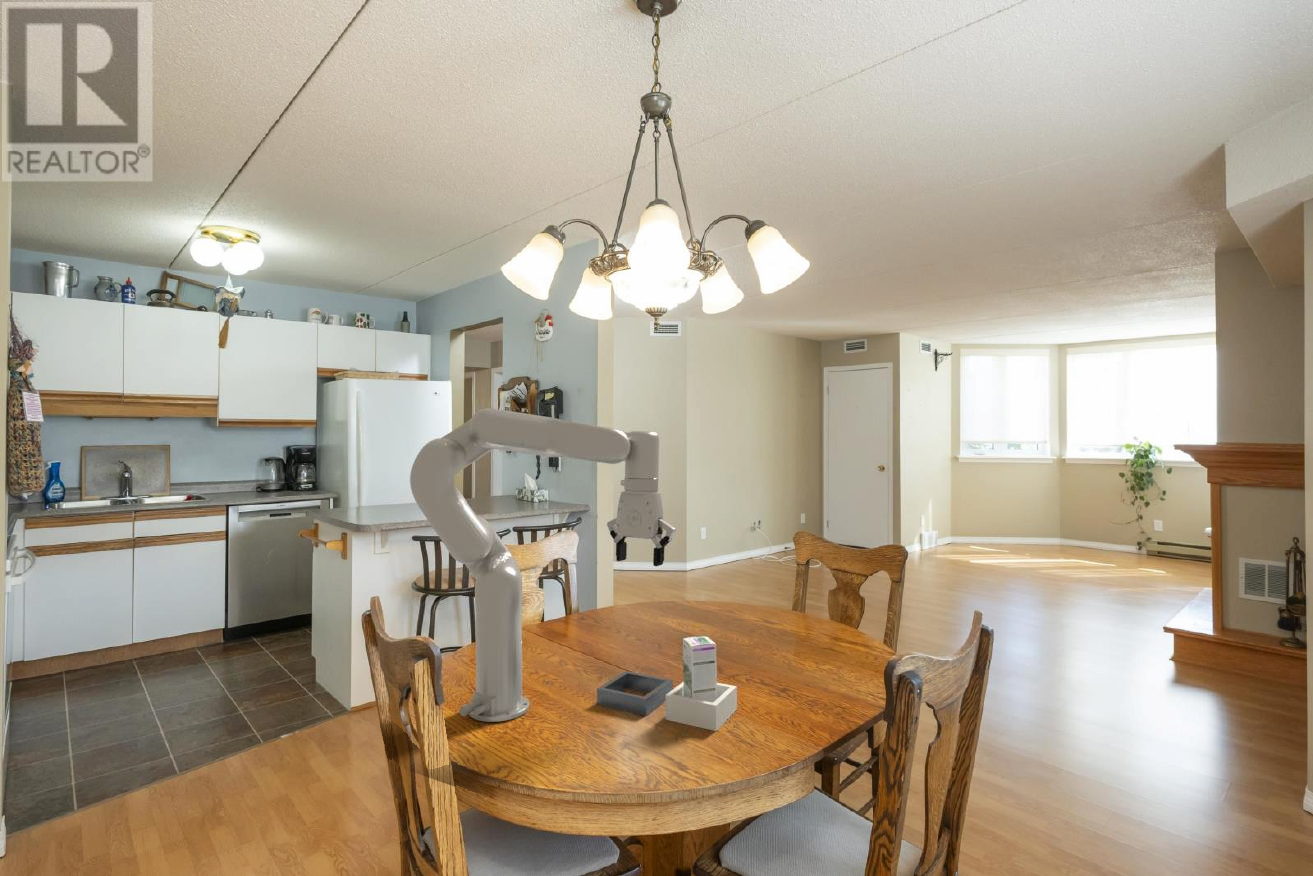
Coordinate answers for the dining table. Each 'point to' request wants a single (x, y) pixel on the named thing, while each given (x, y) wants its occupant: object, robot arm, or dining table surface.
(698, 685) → the syrup box
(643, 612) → the dining table surface
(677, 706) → the cradle
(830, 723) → the dining table surface
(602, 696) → the gray square frame
